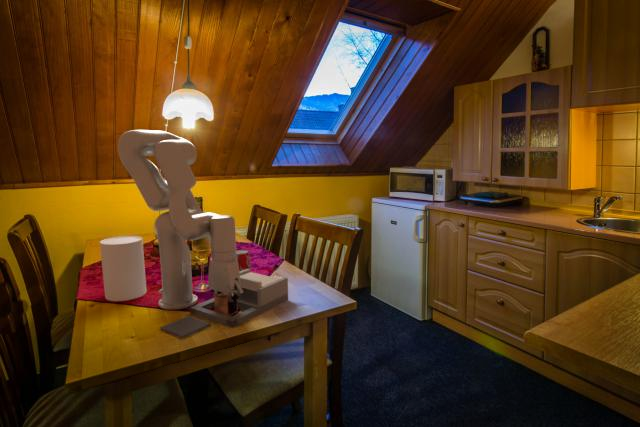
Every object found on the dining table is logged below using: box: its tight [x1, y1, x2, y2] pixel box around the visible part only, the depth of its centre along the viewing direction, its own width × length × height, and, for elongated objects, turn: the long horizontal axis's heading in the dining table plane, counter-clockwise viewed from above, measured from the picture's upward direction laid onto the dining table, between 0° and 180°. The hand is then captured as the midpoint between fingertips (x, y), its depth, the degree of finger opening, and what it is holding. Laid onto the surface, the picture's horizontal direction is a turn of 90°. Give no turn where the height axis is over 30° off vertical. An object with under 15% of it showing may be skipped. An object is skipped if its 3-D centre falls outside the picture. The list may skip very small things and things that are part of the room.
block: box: [213, 293, 239, 317], centre depth 131 cm, size 5×5×6 cm
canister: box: [99, 235, 148, 302], centre depth 147 cm, size 14×14×20 cm
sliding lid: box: [240, 271, 280, 291], centre depth 141 cm, size 15×12×3 cm
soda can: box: [236, 249, 252, 272], centre depth 161 cm, size 7×7×12 cm
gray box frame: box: [189, 269, 289, 329], centre depth 136 cm, size 19×26×8 cm
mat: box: [160, 315, 212, 339], centre depth 121 cm, size 10×10×1 cm
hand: (226, 309), depth 131 cm, fingers closed on block, 5 cm apart
